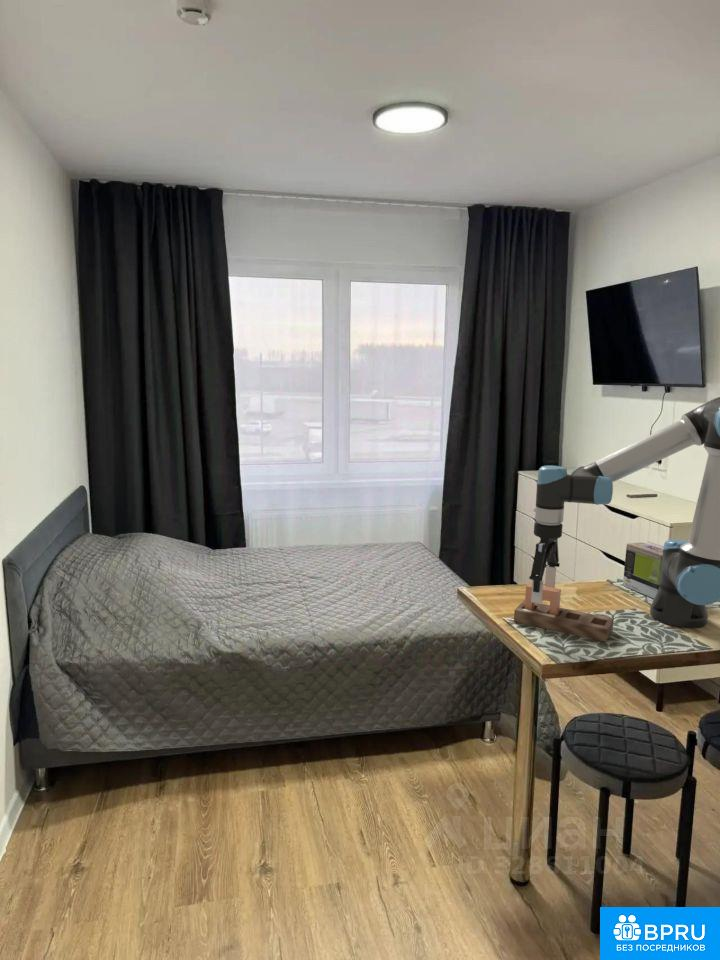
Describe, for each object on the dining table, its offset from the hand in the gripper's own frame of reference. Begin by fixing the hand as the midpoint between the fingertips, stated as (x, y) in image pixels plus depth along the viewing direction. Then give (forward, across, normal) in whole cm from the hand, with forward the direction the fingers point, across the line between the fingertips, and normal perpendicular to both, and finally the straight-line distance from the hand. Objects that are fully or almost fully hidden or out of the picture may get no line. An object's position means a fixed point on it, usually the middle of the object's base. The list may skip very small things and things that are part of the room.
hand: (543, 595), depth 186 cm
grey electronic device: (+8, -45, +23) cm, 51 cm away
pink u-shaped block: (+8, 0, 0) cm, 8 cm away
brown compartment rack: (+8, 0, +6) cm, 10 cm away
